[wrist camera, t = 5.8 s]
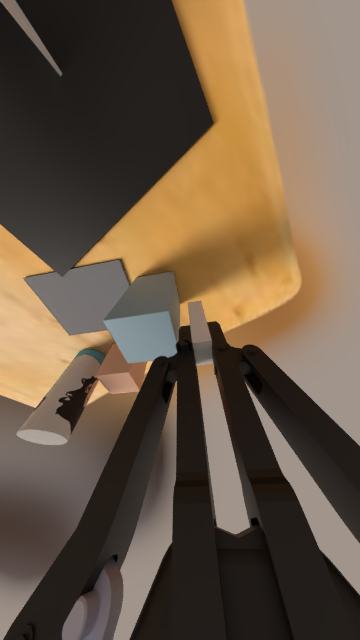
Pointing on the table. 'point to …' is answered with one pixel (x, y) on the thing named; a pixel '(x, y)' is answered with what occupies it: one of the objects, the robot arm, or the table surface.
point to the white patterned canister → (64, 401)
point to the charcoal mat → (82, 295)
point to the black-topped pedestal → (89, 116)
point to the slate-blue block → (147, 318)
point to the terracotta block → (120, 373)
